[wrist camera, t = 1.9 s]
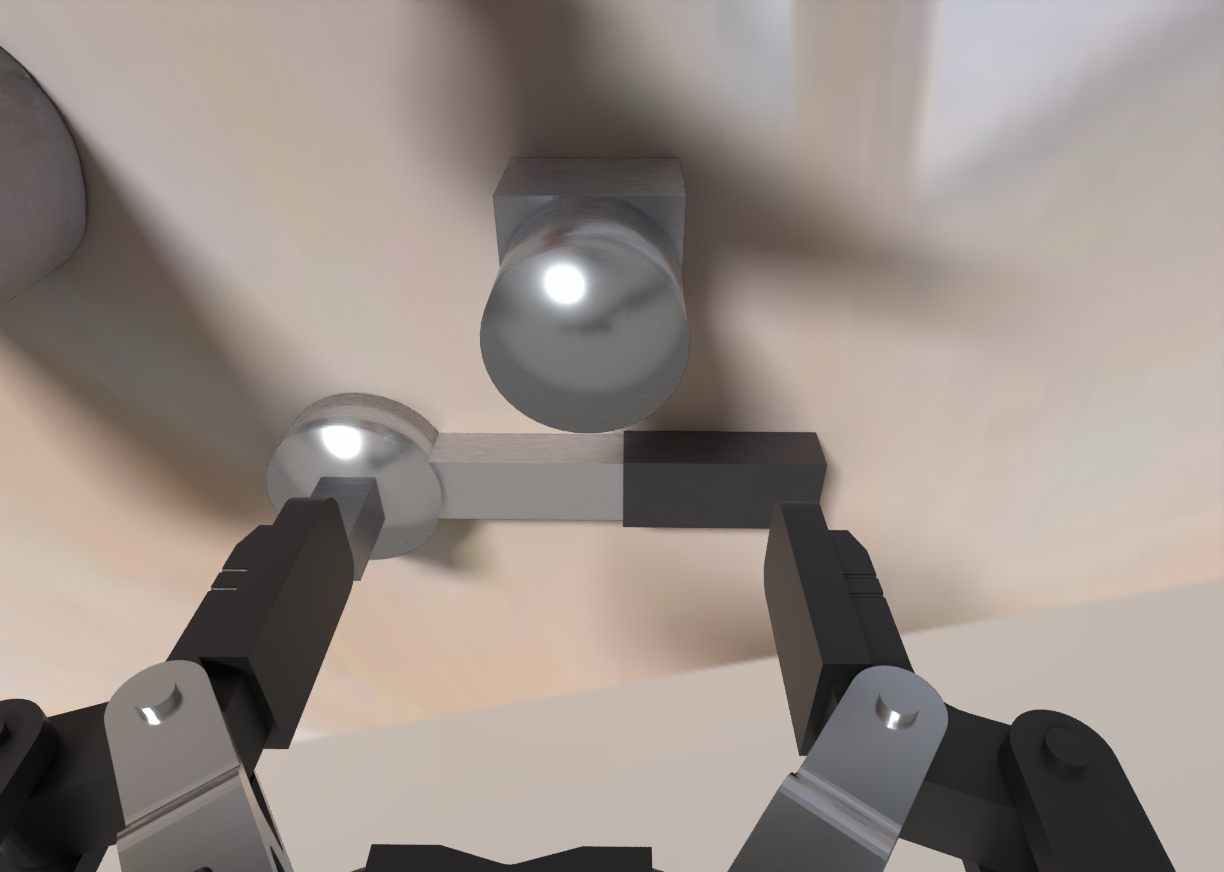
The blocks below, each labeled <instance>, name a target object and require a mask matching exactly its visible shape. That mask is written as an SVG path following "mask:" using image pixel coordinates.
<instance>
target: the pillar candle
mask: <svg viewBox="0 0 1224 872" xmlns="http://www.w3.org/2000/svg"><path fill="white" fill-rule="evenodd" d="M85 229H86V195H85V189H84V182H83V177H82V172H81V166H80V160H79V157H78V153H77V150H76V147H75V144H74V142H73V139H72V137H71V135H70V133H69V132H68V130H67V127H66V125H65V123H64V122H63V121H62V118H61V116H60V115H59V113H58V111H57V109H56V108H55V107H54V106H53V104H52V103H51V102H50V100H49V98H48V97H47V96H46V95H45V94H44V92H43V91H42V90H41V89H40V88H39V86H38V85H37V84H36V83H34V81H33V80H32V78H31V77H30V76H29V75H28V74H27V73H26V71H25V70H24V69H23V68H22V67H21V66H20V65H19V63H17V62H16V61H15V60H14V59H13V58H12V57H11V56H10V55H9V54H8V53H7V52H6V51H4V50H3V49H2V48H0V306H2V305H3V304H4V303H6V302H7V301H9V300H10V299H12V298H13V297H15V296H16V295H17V294H18V293H20V292H21V291H23V290H24V289H26V288H28V287H29V286H31V285H33V284H34V283H36V282H38V281H39V280H41V279H42V278H44V277H46V276H47V275H48V274H50V273H51V272H52V271H53V270H54V269H56V268H57V267H59V266H60V265H62V264H63V263H64V262H65V261H66V260H68V259H69V258H70V257H71V255H72V254H73V253H74V252H75V250H76V249H77V247H78V246H79V245H80V243H81V242H82V238H83V236H84V233H85Z"/></svg>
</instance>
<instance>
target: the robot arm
mask: <svg viewBox="0 0 1224 872" xmlns="http://www.w3.org/2000/svg"><path fill="white" fill-rule="evenodd" d="M222 569H223V571H222V573H221V572H220V573H219V574H218V576H217V578H216V579H215V581H214V583H213V584H212V586H211V591H208V592H207V594H206V596H205V597H204V599H203V601H202V602H201V604H200V606H199V607H198V609H197V611H196V612H195V614H194V616H193V617H192V619H191V621H190V622H189V624H188V625H187V627H186V629H185V630H184V632H183V634H182V635H181V637H180V639H179V640H178V642H177V644H176V645H175V647H174V649H173V650H172V652H171V654H170V655H169V657H168V658H167V660H166V661H165V662H163V663H159V664H156V665H154V666H151V667H149V668H147V669H145V670H143V671H141V672H139V673H137V674H136V675H134V676H133V677H131V678H130V679H129V680H128V681H126V682H125V683H124V684H123V685H122V686H121V687H120V688H119V689H118V690H117V691H116V692H115V694H114V695H113V696H112V698H111V699H110V701H108V702H105V703H102V704H98V705H94V706H90V707H86V708H82V709H78V710H75V711H71V712H67V713H63V714H59V715H55V716H51V717H47V716H46V715H45V714H44V712H43V711H42V710H41V708H40V707H39V706H38V705H37V704H36V703H34V702H32V701H30V700H25V699H8V700H3V701H0V872H96V871H97V869H98V867H99V865H100V863H101V861H102V858H103V857H104V855H105V853H106V851H107V849H108V846H111V845H115V844H117V849H118V855H119V860H120V865H121V870H122V872H294V870H293V868H292V866H291V863H290V861H289V858H288V855H287V853H286V850H285V847H284V844H283V842H282V839H281V836H280V834H279V831H278V828H277V826H276V823H275V820H274V818H273V815H272V812H271V810H270V807H269V804H268V802H267V799H266V796H265V794H264V791H263V788H262V786H261V783H260V780H259V778H258V776H257V773H256V771H255V767H256V764H257V762H258V760H259V757H260V755H261V753H262V750H263V749H288V748H289V746H290V743H291V741H292V738H293V736H294V733H295V731H296V728H297V726H298V723H299V721H300V718H301V716H302V713H303V710H304V708H305V705H306V703H307V700H308V698H309V695H310V693H311V690H312V688H313V685H314V683H315V680H316V678H317V675H318V673H319V670H320V668H321V665H322V663H323V660H324V658H325V655H326V652H327V650H328V647H329V645H330V642H331V640H332V637H333V635H334V632H335V630H336V627H337V625H338V622H339V620H340V617H341V615H342V612H343V610H344V607H345V605H346V602H347V599H348V597H349V594H350V592H351V589H352V585H353V578H354V561H353V555H352V552H351V548H350V545H349V541H348V538H347V534H346V530H345V527H344V523H343V520H342V516H341V513H340V509H339V506H338V503H337V501H336V500H335V499H334V498H319V497H292V498H290V499H288V500H287V501H286V503H285V504H284V506H283V508H282V510H281V511H280V513H279V515H278V517H277V518H276V520H275V522H274V524H273V525H259V526H258V527H257V528H256V529H255V530H253V531H252V532H251V533H250V534H249V535H248V536H246V537H245V538H244V539H243V540H242V541H241V542H239V543H238V544H237V545H236V546H235V548H234V550H233V551H232V553H231V554H230V556H229V558H228V559H227V561H226V563H225V564H224V566H223V568H222ZM764 587H765V595H766V600H767V605H768V610H769V614H770V619H771V624H772V629H773V633H774V638H775V643H776V648H777V652H778V657H779V662H780V667H781V671H782V676H783V681H784V685H785V690H786V695H787V699H788V704H789V709H790V714H791V719H792V724H793V728H794V733H795V738H796V742H797V747H798V752H799V756H807V757H806V759H805V760H804V762H803V764H802V765H801V767H800V768H799V770H798V771H797V772H796V773H795V774H794V773H793V772H792V773H790V774H789V775H788V776H787V777H786V779H785V780H784V781H783V783H782V784H781V786H780V787H779V789H778V790H777V792H776V794H775V795H774V797H773V798H772V800H771V802H770V803H769V805H768V807H767V808H766V810H765V811H764V813H763V815H762V816H761V818H760V819H759V821H758V823H757V824H756V826H755V828H754V830H753V831H752V832H751V834H750V836H749V838H748V839H747V841H746V842H745V844H744V846H743V847H742V849H741V850H740V852H739V854H738V855H737V857H736V859H735V860H734V862H733V863H732V865H731V867H730V868H729V870H728V871H727V872H883V871H884V868H885V866H886V864H887V862H888V860H889V857H890V855H891V853H892V851H893V848H894V846H895V844H896V842H897V840H898V838H901V839H904V840H907V841H910V842H913V843H916V844H919V845H922V846H925V847H928V848H931V849H934V850H936V851H939V852H942V853H945V854H948V855H951V856H954V857H957V858H960V859H962V861H963V864H964V867H965V871H966V872H1176V871H1175V869H1174V867H1173V865H1172V863H1171V861H1170V859H1169V857H1168V856H1167V854H1166V852H1165V850H1164V848H1163V846H1162V844H1161V842H1160V840H1159V838H1158V836H1157V834H1156V832H1155V830H1154V829H1153V827H1152V825H1151V823H1150V821H1149V819H1148V817H1147V815H1146V813H1145V811H1144V809H1143V807H1142V805H1141V804H1140V802H1139V800H1138V798H1137V796H1136V794H1135V792H1134V790H1133V788H1132V786H1131V784H1130V782H1129V780H1128V779H1127V777H1126V775H1125V773H1124V771H1123V769H1122V767H1121V765H1120V763H1119V761H1118V759H1117V757H1116V755H1115V754H1114V752H1113V751H1112V749H1111V748H1110V746H1109V745H1108V744H1107V743H1106V741H1105V740H1104V739H1103V738H1102V737H1101V736H1100V735H1099V734H1098V733H1096V732H1095V731H1094V730H1092V729H1091V728H1090V727H1088V726H1087V725H1085V724H1084V723H1082V722H1081V721H1079V720H1077V719H1075V718H1073V717H1071V716H1068V715H1066V714H1063V713H1060V712H1056V711H1051V710H1032V711H1028V712H1025V713H1023V714H1021V715H1020V716H1018V717H1017V718H1016V719H1015V720H1014V722H1013V723H1012V725H1008V724H1004V723H1001V722H998V721H994V720H990V719H987V718H984V717H980V716H976V715H973V714H970V713H967V712H964V711H961V710H958V709H956V708H954V707H952V706H950V705H948V704H946V703H945V702H943V700H942V698H941V696H940V695H939V694H938V692H937V691H936V690H935V689H934V688H933V687H932V686H931V685H930V684H929V683H928V682H927V681H925V680H923V678H921V677H919V676H918V675H916V674H915V673H914V670H913V669H912V667H911V664H910V661H909V659H908V656H907V653H906V651H905V648H904V646H903V643H902V640H901V638H900V635H899V632H898V630H897V627H896V625H895V622H894V619H893V617H892V614H891V612H890V609H889V606H888V604H887V601H886V599H885V598H884V597H883V591H882V588H881V585H880V583H879V580H878V579H876V572H875V570H874V567H873V565H872V562H871V559H870V557H869V554H868V552H867V550H866V549H865V548H864V547H863V546H862V545H861V544H860V543H859V542H858V541H857V540H856V539H855V537H854V536H853V535H852V534H851V533H850V532H849V531H848V530H828V528H827V525H826V522H825V519H824V516H823V513H822V510H821V507H820V505H819V503H818V502H776V503H775V505H774V508H773V513H772V519H771V525H770V531H769V537H768V543H767V550H766V556H765V562H764ZM352 872H663V871H660V870H657V869H654V868H652V847H592V846H590V847H589V846H582V847H578V848H575V849H571V850H567V851H563V852H560V853H556V854H552V855H548V856H544V857H540V858H537V859H533V860H529V861H525V862H521V863H518V864H512V865H507V864H501V863H498V862H495V861H491V860H488V859H485V858H481V857H478V856H475V855H472V854H468V853H465V852H462V851H459V850H455V849H452V848H449V847H445V846H442V845H389V844H386V845H385V844H372V845H371V849H370V852H369V856H368V860H367V864H366V867H364V868H360V869H357V870H354V871H352Z"/></svg>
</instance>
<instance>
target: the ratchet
mask: <svg viewBox="0 0 1224 872" xmlns="http://www.w3.org/2000/svg"><path fill="white" fill-rule="evenodd" d="M826 466H827V464H826V461H825V458H824V455H823V452H822V450H821V447H820V444H819V441H818V438H817V435H816V433H811V432H678V431H624V435H561V434H438V432H437V431H436V430H435V428H434V427H433V426H432V425H431V424H430V423H429V422H428V421H427V420H425V419H424V418H423V417H422V416H420V415H419V414H418V413H416V412H415V411H413V410H412V409H410V408H408V407H406V406H404V405H402V404H400V403H398V402H396V401H393V400H391V399H388V398H384V397H381V396H377V395H371V394H363V393H344V394H338V395H333V396H330V397H326V398H323V399H321V400H319V401H317V402H315V403H313V404H312V405H310V406H309V407H307V408H306V409H305V410H304V411H303V412H302V413H301V414H300V415H299V417H298V418H297V419H296V421H295V422H294V424H293V425H292V427H291V429H290V430H289V432H288V433H287V435H286V436H285V438H284V439H283V441H282V442H281V444H280V445H279V447H278V448H277V450H276V451H275V453H274V454H273V456H272V458H271V460H270V462H269V464H268V468H267V472H266V486H267V492H268V495H269V498H270V501H271V503H272V505H273V507H274V509H275V510H276V512H277V514H278V515H279V513H280V511H281V510H282V508H283V506H284V504H285V503H286V501H287V500H288V499H290V498H292V497H319V498H334V499H335V500H336V501H337V503H338V506H339V509H340V513H341V516H342V520H343V523H344V527H345V530H346V534H347V538H348V541H349V545H350V548H351V552H352V555H353V561H354V578H353V581H361V578H362V576H363V573H364V571H365V568H366V566H367V563H368V561H369V560H380V559H388V558H393V557H397V556H401V555H403V554H406V553H409V552H410V551H412V550H414V549H416V548H418V547H419V546H420V545H422V544H423V543H424V542H425V541H426V540H427V539H428V538H429V537H430V536H431V534H432V533H433V531H434V529H435V527H436V525H437V523H438V520H439V518H448V519H547V520H623V527H671V528H768V529H770V525H771V519H772V513H773V508H774V505H775V503H776V502H818V503H819V501H820V496H821V491H822V486H823V481H824V476H825V471H826Z"/></svg>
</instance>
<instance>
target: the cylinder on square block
mask: <svg viewBox="0 0 1224 872" xmlns="http://www.w3.org/2000/svg"><path fill="white" fill-rule="evenodd" d="M493 202H494V212H495V222H496V232H497V243H498V253H499V263H500V269H499V272H498V275H497V277H496V280H495V283H494V285H493V288H492V291H491V294H490V296H489V299H488V302H487V304H486V307H485V310H484V313H483V317H482V321H481V329H480V348H481V353H482V358H483V361H484V364H485V367H486V370H487V372H488V374H489V376H490V378H491V380H492V382H493V383H494V385H495V386H496V388H497V389H498V391H499V392H500V393H501V394H502V395H503V396H504V398H505V399H506V400H507V401H508V402H509V403H510V404H512V405H513V406H514V407H515V408H516V409H517V410H519V411H520V412H522V413H523V414H524V415H526V416H527V417H529V418H531V419H533V420H535V421H537V422H539V423H541V424H544V425H546V426H549V427H552V428H555V429H559V430H562V431H568V432H574V433H602V432H608V431H614V430H617V429H621V428H625V427H627V426H630V425H632V424H635V423H637V422H639V421H641V420H642V419H644V418H646V417H648V416H649V415H650V414H652V413H653V412H655V411H656V410H657V409H658V408H660V407H661V406H662V405H663V404H664V403H665V402H666V401H667V400H668V398H669V397H670V396H671V395H672V394H673V392H674V391H675V389H676V388H677V386H678V385H679V383H680V381H681V379H682V376H683V374H684V372H685V369H686V365H687V362H688V356H689V330H688V322H687V315H686V308H685V300H684V293H683V285H682V264H683V245H684V225H685V206H686V193H685V188H684V183H683V177H682V172H681V167H680V161H679V158H511V159H510V162H509V164H508V166H507V168H506V170H505V172H504V174H503V176H502V178H501V180H500V182H499V184H498V186H497V188H496V190H495V192H494V195H493Z"/></svg>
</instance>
